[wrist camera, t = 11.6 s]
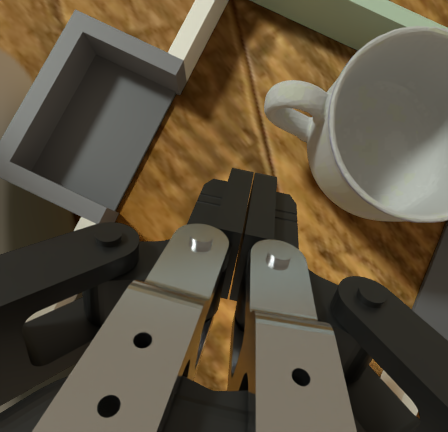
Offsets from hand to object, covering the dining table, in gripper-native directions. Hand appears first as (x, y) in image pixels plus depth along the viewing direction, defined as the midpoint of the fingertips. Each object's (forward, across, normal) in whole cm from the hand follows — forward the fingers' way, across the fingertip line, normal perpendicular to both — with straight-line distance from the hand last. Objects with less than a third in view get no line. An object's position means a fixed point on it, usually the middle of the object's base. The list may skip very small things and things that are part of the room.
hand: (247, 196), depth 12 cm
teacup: (+16, -7, +3) cm, 18 cm away
